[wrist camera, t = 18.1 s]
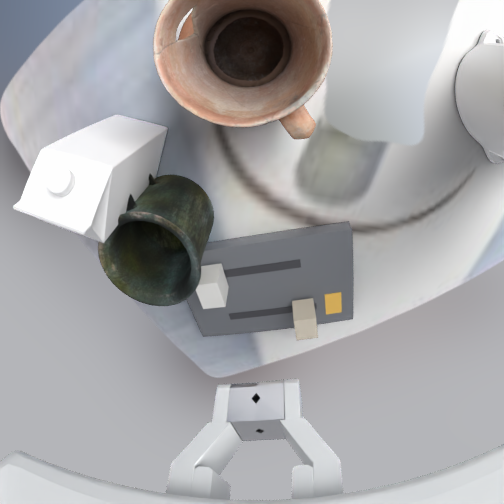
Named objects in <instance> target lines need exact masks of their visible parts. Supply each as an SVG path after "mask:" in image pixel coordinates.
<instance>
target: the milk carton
mask: <svg viewBox="0 0 504 504" xmlns="http://www.w3.org/2000/svg"><path fill="white" fill-rule="evenodd" d="M167 131H168V128H167V127H165V126H161V125H158V124H154V123H150V122H146V121H142V120H138V119H134V118H130V117H126V116H122V115H114V116H111V117H109V118H107V119H104V120H102V121H99V122H97V123H95V124H92V125H90V126H88V127H86V128H83V129H81V130H79V131H77V132H75V133H73V134H70V135H68V136H66V137H64V138H62V139H60V140H58V141H56V142H54V143H52V144H50V145H48V146H47V147H45V148H43V149H42V150H41V151H40V153H39V156H38V158H37V160H36V162H35V165H34V167H33V169H32V172H31V174H30V177H29V179H28V182H27V184H26V187H25V189H24V192H23V195H22V197H21V200H20V201H19V202H18V203H16V204H15V205H14V206H13V209H15V210H18V211H21V212H23V213H26V214H29V215H31V216H34V217H37V218H39V219H40V220H41V221H44V222H46V223H49V224H52V225H54V226H57V227H60V228H63V229H66V230H68V231H71V232H74V233H76V234H79V235H82V236H85V237H88V238H90V239H93V240H96V241H99V242H102V243H104V242H105V241H106V240H107V238H108V237H109V236H110V234H111V233H112V232H113V231H114V229H115V228H116V227H117V226H118V218H119V216H120V215H121V214H124V213H126V209H127V204H128V199H129V196H130V194H131V195H132V197H133V199H134V201H136V200H137V199H138V197H139V196H140V195H141V194H142V193H143V192H144V190H145V189H146V188H147V187H148V186H149V180H148V179H149V174H151V175H152V176H153V178H154V179H155V178H156V176H157V171H158V167H159V163H160V159H161V154H162V150H163V146H164V142H165V139H166V135H167Z"/></svg>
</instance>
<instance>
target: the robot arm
mask: <svg viewBox="0 0 504 504" xmlns="http://www.w3.org/2000/svg"><path fill="white" fill-rule="evenodd" d="M496 41H497V43H496ZM455 95H456V103H457V108H458V111H459V115H460V117H461V120H462V122H463V124H464V126H465V128H466V129H467V131H468V132H469V133H470V135H471V136H472V137H473V138H474V139H475V140H476V141H478V142H479V143H480V144H481V145H482V147H483V149H484V151H485V153H486V155H487V157H488V159H489V160H490V161H491V162H493V163H495V164H498V163H501V162H504V37H503V36H501V35H499V34H497V33H495V32H493V31H488V30H485V31H484V32H483V33H482V35H481V37H480V39H479V42H478V44H477V45H476V46H475V47H474V48H473V49H472V50H470V51H469V52H468V53H467V54H466V55H465V57H464V58H463V60H462V61H461V63H460V66H459V68H458V71H457V76H456V83H455ZM274 439H286V440H287V441H288V443H289V444H290V446H291V447H292V448H293V450H294V451H295V452H296V454H297V455H298V457H299V458H300V459H301V461H302V462H303V463H304V465H299V466H295V467H294V468H293V469H292V499H287V500H230V485H229V484H228V483H227V482H226V481H225V480H224V479H222V478H221V477H220V476H219V475H220V474H221V472H222V471H223V470H224V468H225V467H226V465H227V464H228V462H229V461H230V460H231V458H232V457H233V455H234V454H235V452H236V451H237V450H238V448H239V447H240V445H241V444H242V443H243V442H242V441H252V440H253V441H254V440H274ZM340 462H341V461H340V459H339V458H338V457H337V455H336V454H335V453H334V452H333V451H332V450H331V449H330V447H329V446H328V445H327V444H326V443H325V442H324V440H323V439H322V438H321V437H320V436H319V435H318V433H317V432H316V431H315V430H314V429H313V427H312V426H311V425H310V424H309V422H308V421H307V420H306V419H305V418H303V407H302V398H301V390H300V384H299V379H298V378H296V379H287V380H276V381H266V382H257V383H242V384H220V385H218V386H217V388H216V395H215V402H214V409H213V417H212V422H208V423H207V424H206V425H205V426H204V428H203V429H202V430H201V431H200V432H199V433H198V434H197V435H196V437H195V438H194V439H193V440H192V441H191V442H190V443H189V445H188V446H187V447H186V448H185V449H184V450H183V451H182V452H181V453H180V454H179V455H178V457H177V458H176V459H175V460H174V461H173V462H172V463H171V468H170V474H169V479H168V484H167V490H166V493H159V492H153V491H148V490H143V489H138V488H133V487H128V486H124V485H119V484H115V483H111V482H107V481H104V480H100V479H96V478H92V477H89V476H86V475H83V474H80V473H77V472H73V471H71V470H67V469H65V468H62V467H59V466H56V465H54V464H51V463H48V462H46V461H43V460H41V459H38V458H36V457H33V456H31V455H29V454H26V453H24V452H22V451H14V452H12V453H10V454H9V455H8V456H6V457H5V458H4V459H3V460H1V461H0V504H504V444H503V445H501V446H499V447H497V448H495V449H492V450H490V451H488V452H486V453H483V454H481V455H479V456H477V457H474V458H472V459H469V460H467V461H464V462H462V463H459V464H456V465H454V466H452V467H448V468H446V469H443V470H440V471H437V472H434V473H431V474H427V475H424V476H421V477H417V478H414V479H410V480H407V481H403V482H399V483H395V484H391V485H387V486H383V487H378V488H373V489H368V490H363V491H357V492H351V493H345V494H343V484H342V472H341V463H340Z"/></svg>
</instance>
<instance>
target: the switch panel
mask: <svg viewBox="0 0 504 504" xmlns="http://www.w3.org/2000/svg"><path fill="white" fill-rule="evenodd" d="M220 263H221V264H222V267H223V270H224V274H225V277H226V280H227V283H228V286H229V288H228V295H227V301H226V307H219V308H210V309H203V307H202V305H201V302H200V300H199V297H198V295H197V292H196V290H195V291H194V292H193V294H192V295H191V296H190V297H188V298H187V302H188V304H189V306H190V308H191V311H192V313H193V315H194V317H195V320H196V322H197V324H198V326H199V328H200V331H201V333H202V335H203V337H206V336H218V335H230V334H241V333H251V332H261V331H270V330H278V329H287V328H295V327H294V320H293V307H292V301H295V300H303V299H310V298H313V301H314V307H315V314H316V322H317V324H324V323H331V322H337V321H344V320H350V319H353V241H352V228H351V226H350V223H349V221H348V222H341V223H334V224H327V225H320V226H313V227H306V228H300V229H293V230H286V231H280V232H273V233H266V234H260V235H253V236H247V237H240V238H234V239H227V240H221V241H215V242H208V243H207V244H206V247H205V250H204V254H203V257H202V260H201V266H206V265H213V264H220Z"/></svg>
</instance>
